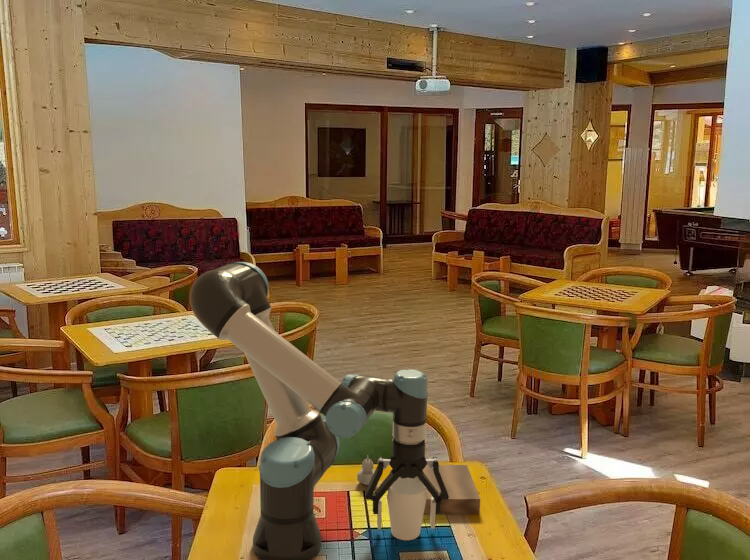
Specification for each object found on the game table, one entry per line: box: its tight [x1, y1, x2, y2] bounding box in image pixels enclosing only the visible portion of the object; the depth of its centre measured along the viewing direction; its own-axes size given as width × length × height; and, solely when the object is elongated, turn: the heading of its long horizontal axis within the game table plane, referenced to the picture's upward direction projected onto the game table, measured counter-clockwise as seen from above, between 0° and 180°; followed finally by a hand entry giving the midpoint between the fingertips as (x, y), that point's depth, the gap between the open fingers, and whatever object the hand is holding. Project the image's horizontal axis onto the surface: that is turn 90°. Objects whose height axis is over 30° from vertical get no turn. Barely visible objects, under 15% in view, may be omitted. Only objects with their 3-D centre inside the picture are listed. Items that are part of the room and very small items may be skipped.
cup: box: [386, 477, 426, 541], centre depth 157 cm, size 9×9×12 cm
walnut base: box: [415, 464, 481, 515], centre depth 175 cm, size 18×18×4 cm
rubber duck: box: [356, 455, 375, 486], centre depth 179 cm, size 5×7×8 cm
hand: (405, 525), depth 158 cm, fingers open, 12 cm apart
